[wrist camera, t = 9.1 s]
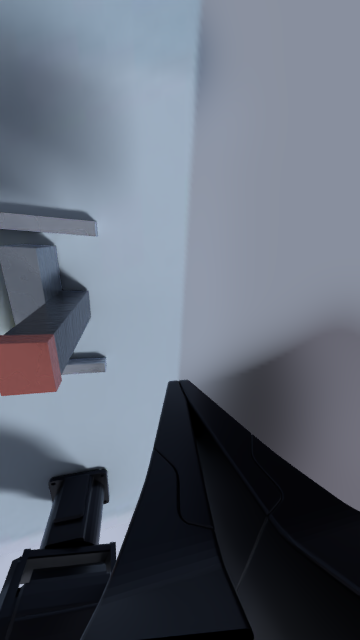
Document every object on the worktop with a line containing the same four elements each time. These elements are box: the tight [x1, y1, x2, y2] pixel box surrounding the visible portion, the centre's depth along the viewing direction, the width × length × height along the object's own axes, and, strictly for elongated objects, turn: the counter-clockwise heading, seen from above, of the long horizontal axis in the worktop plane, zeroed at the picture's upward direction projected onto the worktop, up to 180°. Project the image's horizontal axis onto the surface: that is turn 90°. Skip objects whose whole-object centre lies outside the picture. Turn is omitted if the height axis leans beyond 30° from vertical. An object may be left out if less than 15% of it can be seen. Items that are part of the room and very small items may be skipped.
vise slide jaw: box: [0, 244, 91, 396], centre depth 13 cm, size 9×4×9 cm, turn 175°
